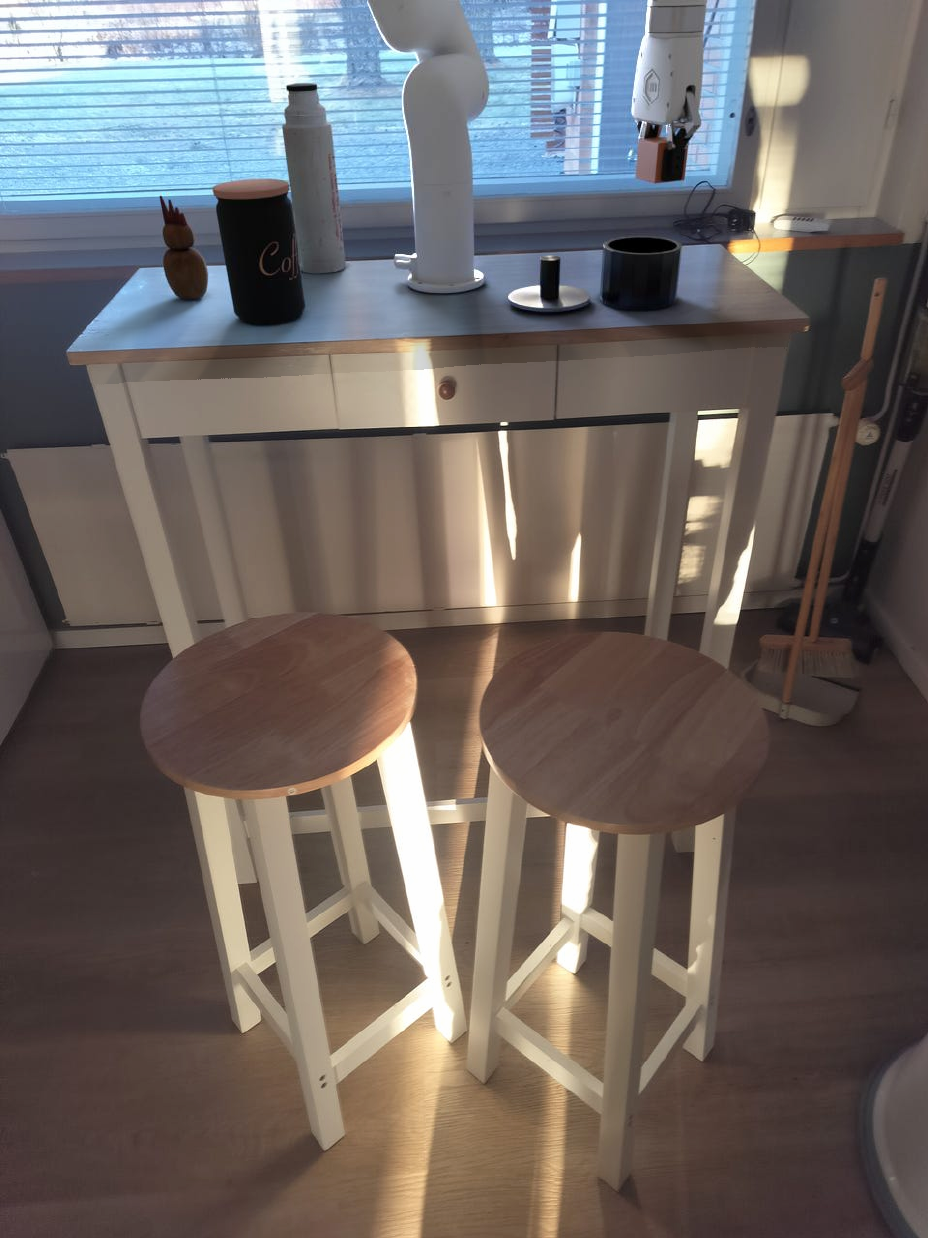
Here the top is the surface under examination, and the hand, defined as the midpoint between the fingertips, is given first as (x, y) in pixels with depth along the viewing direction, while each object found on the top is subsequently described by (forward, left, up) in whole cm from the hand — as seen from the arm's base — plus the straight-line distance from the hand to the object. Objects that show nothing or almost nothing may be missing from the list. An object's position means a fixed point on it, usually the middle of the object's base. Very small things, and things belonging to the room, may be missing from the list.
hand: (659, 175), depth 124 cm
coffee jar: (-53, -22, -17) cm, 60 cm away
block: (0, 0, 0) cm, 0 cm away
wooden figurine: (-71, -16, -17) cm, 75 cm away
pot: (-1, -1, -17) cm, 17 cm away
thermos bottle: (-58, +6, -17) cm, 61 cm away
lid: (-14, -6, -16) cm, 23 cm away
